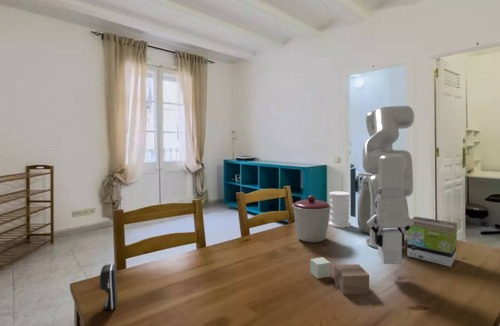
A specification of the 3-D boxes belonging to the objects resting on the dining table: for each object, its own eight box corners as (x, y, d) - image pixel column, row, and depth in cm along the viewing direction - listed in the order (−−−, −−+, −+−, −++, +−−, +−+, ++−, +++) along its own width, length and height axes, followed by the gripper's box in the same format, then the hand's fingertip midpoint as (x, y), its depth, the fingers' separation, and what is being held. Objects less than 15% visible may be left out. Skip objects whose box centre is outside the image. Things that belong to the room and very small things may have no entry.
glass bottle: (353, 230, 152) (353, 177, 150) (369, 228, 155) (370, 175, 153) (367, 236, 142) (367, 179, 141) (383, 233, 146) (384, 178, 144)
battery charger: (103, 300, 88) (101, 263, 87) (117, 297, 89) (115, 261, 88) (100, 312, 81) (98, 272, 81) (115, 310, 83) (113, 270, 82)
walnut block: (334, 282, 97) (334, 265, 96) (358, 281, 97) (358, 264, 97) (343, 295, 89) (343, 276, 88) (369, 294, 89) (369, 275, 89)
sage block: (310, 272, 104) (310, 259, 104) (322, 270, 106) (322, 257, 106) (317, 278, 100) (317, 264, 99) (330, 276, 101) (330, 262, 101)
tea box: (406, 257, 117) (407, 220, 116) (413, 250, 124) (414, 215, 123) (451, 267, 106) (453, 227, 105) (456, 259, 114) (457, 221, 113)
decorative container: (347, 229, 155) (348, 195, 153) (326, 226, 160) (326, 193, 159) (352, 223, 164) (352, 192, 163) (331, 221, 170) (331, 190, 169)
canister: (324, 248, 127) (324, 200, 126) (286, 241, 137) (285, 197, 136) (335, 236, 143) (336, 194, 141) (300, 231, 152) (300, 191, 151)
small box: (401, 265, 95) (402, 233, 94) (383, 264, 96) (383, 232, 95) (394, 254, 102) (395, 225, 101) (377, 254, 104) (378, 225, 102)
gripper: (369, 195, 93) (369, 250, 95) (423, 193, 93) (421, 248, 95) (360, 191, 100) (359, 241, 102) (409, 189, 101) (408, 239, 103)
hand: (389, 244), depth 99 cm, fingers closed on small box, 6 cm apart
